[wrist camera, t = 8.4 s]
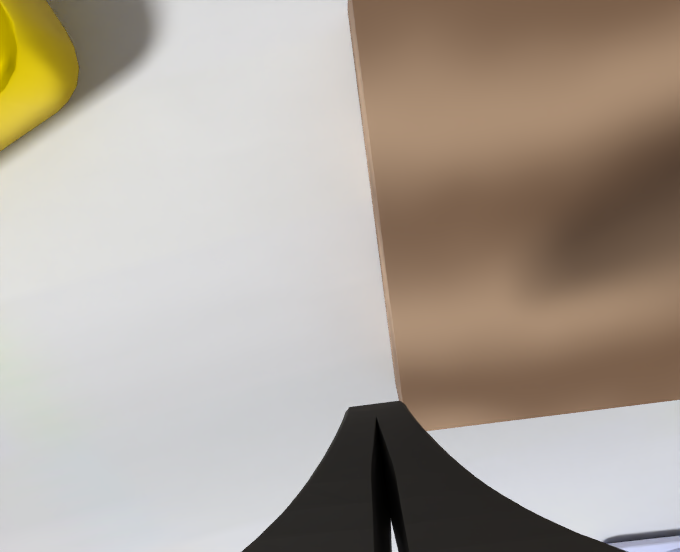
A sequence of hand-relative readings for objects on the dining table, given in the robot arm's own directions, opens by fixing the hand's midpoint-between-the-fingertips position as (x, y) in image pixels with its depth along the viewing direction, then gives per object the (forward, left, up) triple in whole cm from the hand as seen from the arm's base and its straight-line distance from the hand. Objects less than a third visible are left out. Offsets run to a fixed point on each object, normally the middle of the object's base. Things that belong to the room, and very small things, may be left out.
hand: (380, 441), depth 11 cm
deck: (+4, -7, -10) cm, 13 cm away
